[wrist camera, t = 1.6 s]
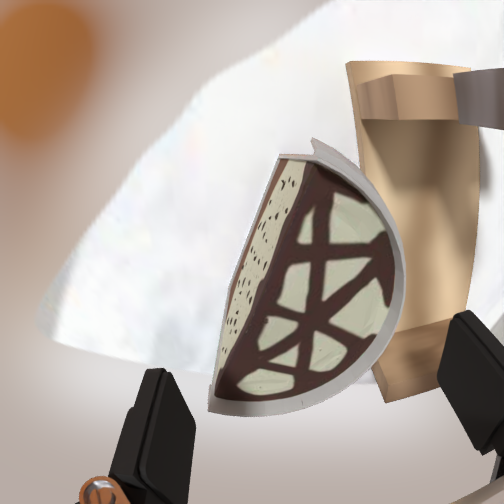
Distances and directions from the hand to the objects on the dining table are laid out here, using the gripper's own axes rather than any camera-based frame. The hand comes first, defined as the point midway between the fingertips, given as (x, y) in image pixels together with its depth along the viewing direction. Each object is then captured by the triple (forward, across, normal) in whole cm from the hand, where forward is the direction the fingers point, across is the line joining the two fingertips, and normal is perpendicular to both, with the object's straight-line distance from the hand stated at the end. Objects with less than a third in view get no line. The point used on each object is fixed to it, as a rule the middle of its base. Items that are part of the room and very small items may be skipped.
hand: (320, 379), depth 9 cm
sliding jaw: (+10, -10, -8) cm, 17 cm away
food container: (+12, -1, 0) cm, 12 cm away
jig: (+12, -10, 0) cm, 15 cm away
